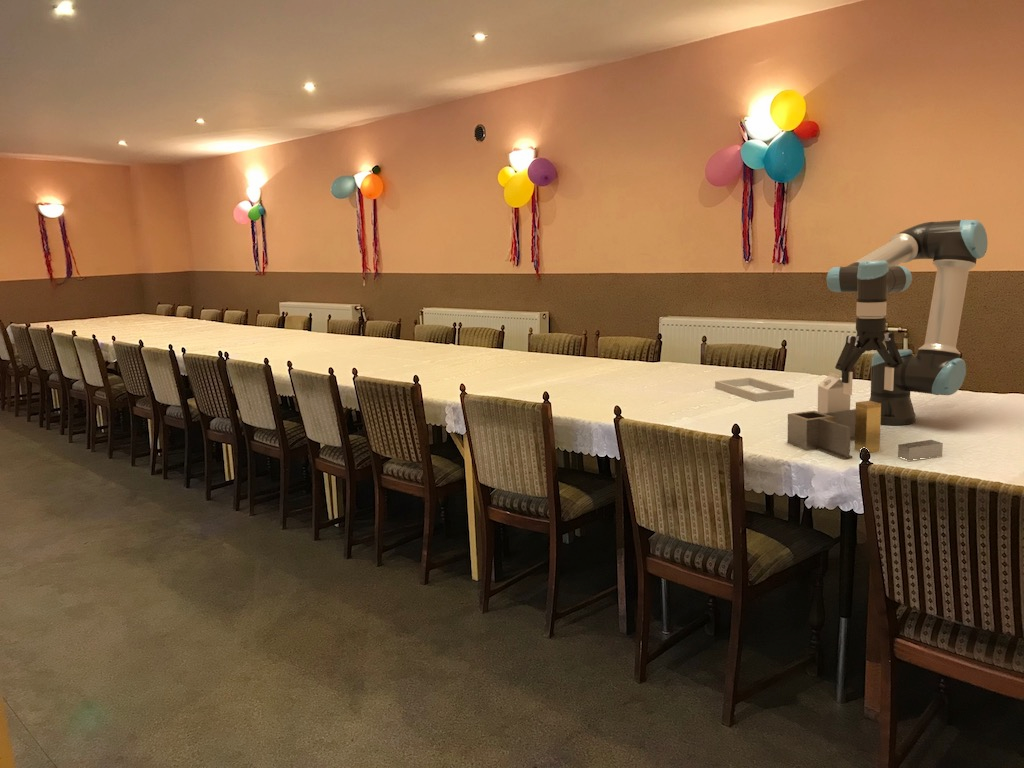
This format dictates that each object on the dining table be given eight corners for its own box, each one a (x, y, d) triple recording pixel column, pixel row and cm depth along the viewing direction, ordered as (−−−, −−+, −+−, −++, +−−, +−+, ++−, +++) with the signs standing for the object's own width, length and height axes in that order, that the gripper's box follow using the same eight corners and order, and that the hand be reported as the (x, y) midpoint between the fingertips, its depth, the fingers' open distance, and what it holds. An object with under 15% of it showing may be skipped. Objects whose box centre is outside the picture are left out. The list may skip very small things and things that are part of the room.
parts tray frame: (750, 384, 317) (750, 377, 317) (793, 397, 288) (793, 389, 288) (715, 388, 313) (715, 381, 313) (755, 401, 284) (755, 393, 284)
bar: (930, 453, 209) (930, 439, 209) (941, 457, 206) (942, 443, 205) (897, 458, 207) (898, 444, 206) (908, 462, 203) (909, 448, 202)
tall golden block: (868, 447, 217) (869, 400, 215) (879, 451, 213) (881, 403, 210) (854, 449, 216) (855, 402, 214) (865, 453, 212) (867, 405, 209)
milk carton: (839, 429, 238) (840, 371, 235) (849, 435, 231) (851, 374, 228) (816, 431, 238) (818, 372, 235) (826, 436, 231) (828, 376, 228)
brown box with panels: (847, 434, 232) (848, 406, 230) (898, 451, 212) (899, 420, 210) (787, 442, 227) (787, 413, 225) (833, 460, 207) (834, 429, 205)
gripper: (898, 313, 214) (895, 386, 218) (823, 319, 208) (821, 393, 212) (919, 315, 207) (915, 390, 211) (841, 321, 201) (838, 398, 205)
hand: (868, 392), depth 211 cm, fingers open, 13 cm apart
